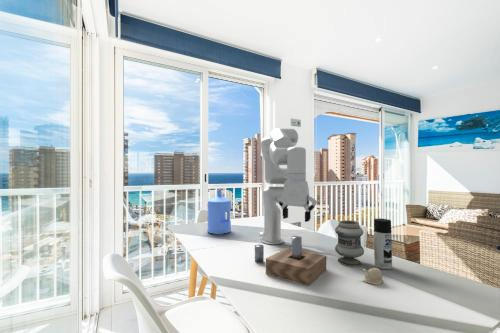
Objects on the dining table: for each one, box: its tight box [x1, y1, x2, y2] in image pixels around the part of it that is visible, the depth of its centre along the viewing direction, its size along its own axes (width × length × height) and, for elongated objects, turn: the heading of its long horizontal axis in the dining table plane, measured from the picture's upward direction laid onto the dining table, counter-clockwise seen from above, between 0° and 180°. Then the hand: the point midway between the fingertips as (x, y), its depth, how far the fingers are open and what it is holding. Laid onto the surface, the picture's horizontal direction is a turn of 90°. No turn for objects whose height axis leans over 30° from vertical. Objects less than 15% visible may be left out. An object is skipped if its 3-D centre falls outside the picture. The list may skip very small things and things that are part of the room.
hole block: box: [265, 247, 327, 287], centre depth 103 cm, size 18×18×6 cm
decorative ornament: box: [362, 267, 384, 286], centre depth 94 cm, size 4×8×5 cm, turn 102°
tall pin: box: [291, 235, 303, 260], centre depth 103 cm, size 4×4×14 cm
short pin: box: [254, 244, 265, 264], centre depth 115 cm, size 4×4×7 cm
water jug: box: [206, 189, 232, 235], centre depth 171 cm, size 16×16×28 cm
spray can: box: [373, 218, 393, 270], centre depth 109 cm, size 7×7×20 cm
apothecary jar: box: [334, 219, 365, 267], centre depth 114 cm, size 12×12×18 cm
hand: (296, 219), depth 104 cm, fingers open, 9 cm apart
